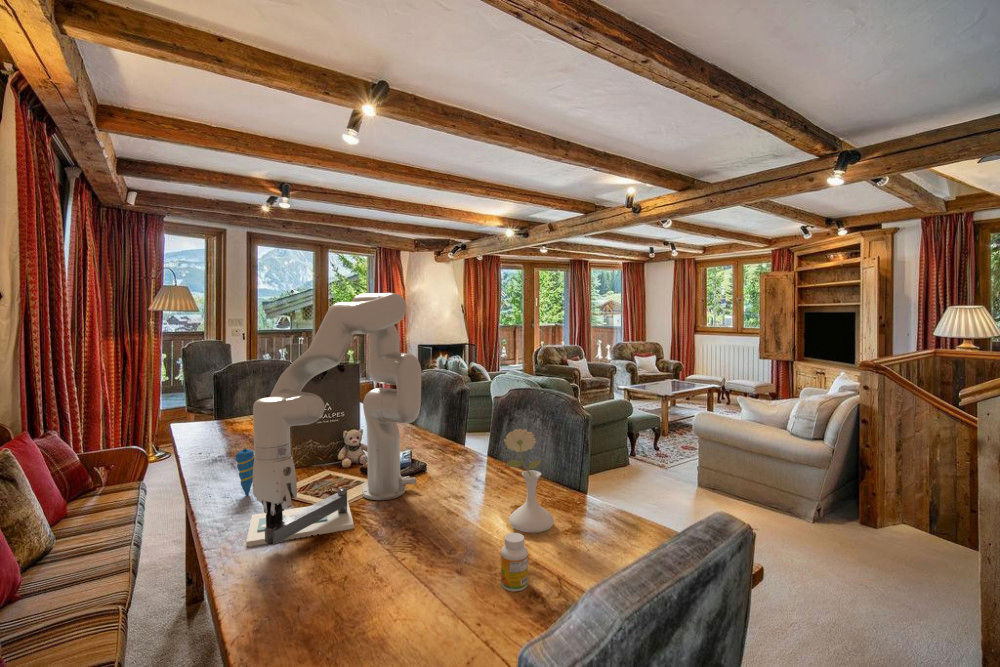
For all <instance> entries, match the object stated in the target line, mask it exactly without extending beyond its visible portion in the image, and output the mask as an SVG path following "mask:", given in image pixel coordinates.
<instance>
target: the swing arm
mask: <svg viewBox="0 0 1000 667" xmlns="http://www.w3.org/2000/svg"><path fill="white" fill-rule="evenodd" d="M347 501H348V489H347V488H346V487H340V488H338V489H337V492H336V493H334V494H332V495H329V496H328V497H326V498H324V499H320V501H318V502H316V503H314V504H311V505H310V506H309V505H308V506H309V507H308V506H306V507H307V508H305V509H303V510H301V511H299V512H297V513H295V514H293V515H291V516H289V517H287V518H285V519H283V520H281V521H279V522H277V523H275V524H273V525H271V526H269V527H267V528H265V542H267V543H266V544H267V545H270V546H271V545H276V544H278V543H281V542H283V541H282V540H284V539H286V538H288V537H289V536H291V535H293V534H295V533H297V532H299V531H300V530H302V529H304V528H306V527H308V526H310V525H312V524H313V523H315V522H317V521H319V520H321V519H323V518H324V517H326V516H328V515H330V514H332V513H334V512H335V511H337V510H338V513H340V514H343V513H346V512H347ZM284 541H285V540H284Z"/></svg>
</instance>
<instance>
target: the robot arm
mask: <svg viewBox="0 0 1000 667" xmlns="http://www.w3.org/2000/svg"><path fill="white" fill-rule="evenodd" d="M406 314H407V302H406V300H405V299H404V297H403V296H401V295H400V294H398V293H395V292H371V293H370V292H367V293H366V292H365V293H362V294H361V293H360V294H357V295H356V296H354V297H353V298H352V300H351V301H340V302H336V303H333V304H332V305H331V306H330V307H329V308H328V310H327V311H326V314H325V315H324V317H323V320H322V322H321V323H320V326H319V328H318V330H317V332H316V333H315V336H314V337H313V339H312V341H311V344H310V346H309V347H308V348H307V350H306V351H305V352H303V353H302V354H301V355H300V356H298V357H297V358H296V359H295V360H294V361H292V363H291V364H290V365H288V366H287V367H286V369H285V370H283V372H282V373H281V375H280V376H279V377H278V380H277V381H276V383H275V385H274V387H273V389H272V390H271V393H270V396H268V397H267V396H266V397H263V398H259V399H257V400H255V401H254V403H253V407H252V413H253V414H252V415H253V419H252V420H253V446H254V447H253V448H254V449H253V450H254V451H253V452H254V457H255V459H254V465H253V482H252V493H253V497H255V498H256V501H258V502H259V503H261V504H262V506H263V513H265V514H266V528H267V527H269V526H271V525H273V524H275V523H277V522H279V521H281V520H283V513H282V512H283V511H284V510H287V509H291V507H292V506H293V503H292V499H296V498H297V495H298V484H297V475H296V474H297V472H296V467H295V462H294V459H293V456H292V455H291V427H294V426H305V425H311V424H314V423H316V422H318V421H319V420H320V419H321V418H322V417H323V415H324V413H325V409H326V408H325V406H326V405H325V402H324V400H323V398H322V397H320V396H319V395H317V394H315V393H312V392H305V391H302V390H303V388H304V387H305V386H306V385H307V383H308V382H309V381H310V380H312V379H313V378H315V377H316V376H317V375H320V374H321V373H323V372H326V371H328V370H330V369H333V368H335V367H336V366H338V365H339V364H340V363H341V362H342V360H343V358H344V355H345V353H346V352H347V349H348V346H349V345H350V342H351V340H352V339H353V336H354V335H368V341H369V349H368V351H369V356H368V371H369V372H368V374H369V377H370V380H372V381H373V382H374V383H378V384H384V385H391V386H392V385H393V386H396V388H389V387H388V388H387V387H377V388H373V389H371V390H369V391H368V392H367V393H366V394H365V396H364V399H363V403H362V407H363V408H362V409H363V414H364V419H365V424H366V438H367V439H366V444H367V445H366V446H367V447H366V448H367V449H366V450H367V451H366V452H367V453H366V454H367V457H366V458H367V486H365V487H363V489H362V493H363V494H362V496H363V497H364V498H365V499H366V500H367V499H368V500H371V501H372V500H373V501H387V500H388V501H389V500H393V499H396V498H399V497H401V496H402V495H404V494H405V492H406V485H415V484H417V478H416V477H415V476H414V477H411V476H410V475H408V476H402V475H401V435H400V434H401V433H400V429H399V425H398V424H405V425H406V424H411V423H414V421H416V420H417V419H418V417H419V415H420V411H421V405H422V404H421V402H422V367H421V364H420V361H419V359H418V358H417V357H416V356H415V355H414V354H413V353H409V352H400V345H399V334H398V333H399V332H398V329H397V327H396V326H395V325H397V324H398V323H400V322H401V321H402V320H403V319H404V318H405V316H406ZM397 423H398V424H397Z"/></svg>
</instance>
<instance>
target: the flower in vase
mask: <svg viewBox="0 0 1000 667" xmlns="http://www.w3.org/2000/svg"><path fill="white" fill-rule="evenodd" d="M534 436H535V434H533V432H532V431H528V430H527V429H522V428H519V429H513V431H509V433H507V435H505V438H504V439H503V441H504V443H505V446H506V448H507V449H508V450H510V451H515V452H516V453H520V460H518V459H511V460H509V461H508V462H507V463H506V464H505V466H508V467H513V468H519V467H521V466H523V467H524V468H525V470H524V471H522V472H521V475H522V476H523V479H524V481H525V484H526V499H525V500H526V501H525V502H524V503H523V504H522V505H521V506H519V507H518V508H516V509H515V510H514V511H513V512H512V513H511V514H510V516H509V518H508V522H509V525H510V526H511V527H512V528H513V529H515V530H517V531H519V532H523V533H527V534H529V533H530V534H532V533H533V534H534V533H536V534H537V533H541V532H546V531H549V529H551V528H552V526H553V525H554V524H555V520H554V517H553V516H552V514H551V513H550V512H549V511H548V510H547V509H545V508H544V507H542V505H540V504H539V503H538V501H537V485H538V481H539V479H540V478H541V476H542V472H541V471H538V470H532V469H536V468H537V467H538V466H539V465H540V464H541V462H542V459H538V460H535V461H532V462H530V463H529V464H528V467H527V465H526V464H525V463H524V461H523V456H522V453H523V452H527V451H528V450H532V449H533V447H534V446H535V444H537V441H536V437H534Z"/></svg>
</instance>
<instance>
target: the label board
mask: <svg viewBox="0 0 1000 667" xmlns="http://www.w3.org/2000/svg"><path fill="white" fill-rule="evenodd" d="M307 507H309V505H308V506H302V507H296V508H295V507H294V508H287V509H284V511H283V512H282V513H283V519H285V518H287V517H289V516H291V515H293V514H295V513H297V512H299V511H301V510H303V509H305V508H307ZM265 528H266V514H265V513H264V512H262V513H261V512H260V513H255V514H252V515H251V519H250V523H249V528H248V533H247V536H246V541H245V543H246V544H245V545H246V546H249V547H253V546H252V545H255V546H260V545H265V544H267V542H265ZM353 529H355V526H354V519H353V516H352V513H351V508H350V504H349V501H348V500H347V512H346V513H343V514H340V513H338V510H337V511H335V512H334V513H332V514H330V515H328V516H326V517H324V518H323V519H321V520H319V521H317V522H315V523H313V524H312V525H310V526H308V527H306V528H304V529H302V530H300V531H299V532H297V533H295V534H293V535H291V536H289V537H288V538H286V539H284V541H289V539H290V540H294V538H296V539H300V537H301V538H306V536H307V537H312V536H311V535H313V536H317V534H319V535H323V534H330V533H335V532H342V531H347V530H353ZM281 542H283V540H282V541H281ZM259 544H260V545H259Z"/></svg>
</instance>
